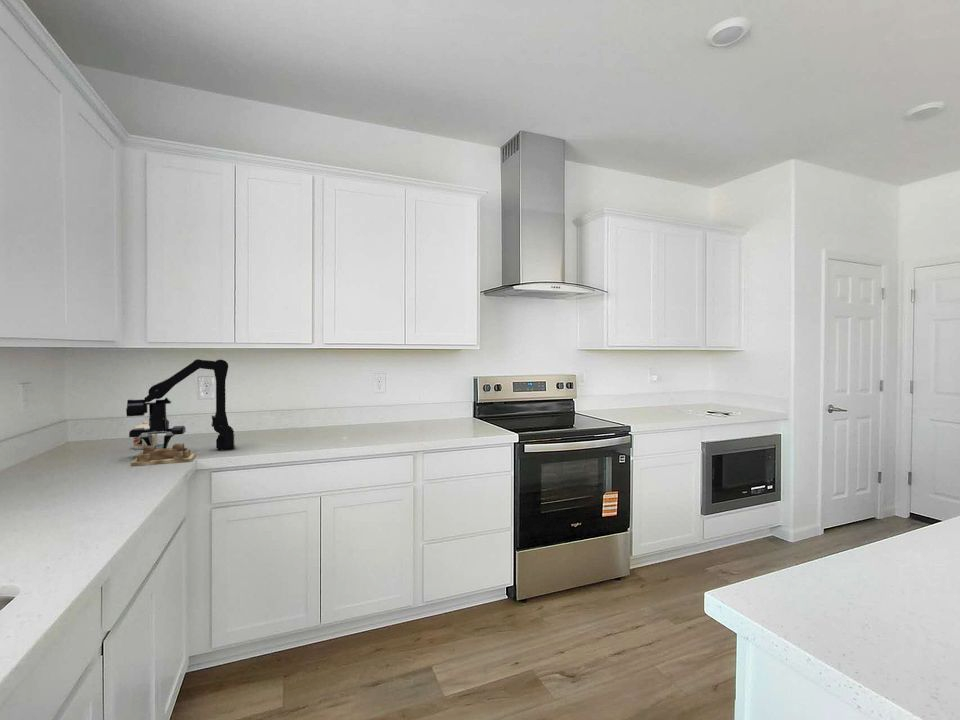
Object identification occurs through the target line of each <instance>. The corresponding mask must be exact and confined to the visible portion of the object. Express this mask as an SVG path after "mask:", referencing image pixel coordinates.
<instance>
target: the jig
mask: <svg viewBox="0 0 960 720" xmlns="http://www.w3.org/2000/svg"><path fill="white" fill-rule="evenodd" d="M196 455H197V454H196V453H191V448H188V447H184V456H183V451H179V452H174V458H173V459H160V460H150V454H143V451H141V452H140V453H138V454H137V455H136V458H135V459H134V460H132V461H131V462H130V463H129V464H130V467H138V466H139V467H140V466H149V465H150V466H152V465H165V464H174V463H175V464H176V463H188V462H191V463H192V461H194V459H195V458H196Z"/></svg>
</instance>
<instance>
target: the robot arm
mask: <svg viewBox="0 0 960 720" xmlns="http://www.w3.org/2000/svg"><path fill="white" fill-rule="evenodd" d="M200 369H202V370H212V371H213V373H214V377H215V414H214V415H211V427H213V430H214V431H215V432H216V433H217V434H218V435H217V438H216V439H215V443H216V451H228V450H234V449H235V447H236V445H235V431H234V428H232V427H231V426H230V425H229V422H228V417H227V412H226V380H227V376H228V371H229V370H228V369H229V363H228V362H227V361H226V360H224V359H222V358H221V359H219V358H218V359H216V360H209V359H207V360H205V359H200V358H197V359H194V360H193V361H192V362H191V363H189V364H188V365H186V366H185V367H183V368H182V369H180V370H179V371H177V372H176V373H175V374H173V375H171V376H170V377H169V378H166V379H164V380H162V381H159V382H157V383H155V384H153V385H152V386H150V388H149V389H148V392H147V393H148V394H147V395H146V396H144V398H143V399H128V400H127V401H126V402H127V403H126V409H125V411H126V412H125V413H126V414H125V415H126V417H128V418H129V417H143V416H145V414H147V413H149V415H148V416H149V418H148V423H149V426H150V428H149V430H145V429H144V428H134V427H133V428H134V429H133V428H132V429H130V430H129V432H128V437H129V438H133V437H139V436H140V435H141V437H140V439H144V441H145V442H146V444H147V445H148V446H151V445H153V442H152V435H150V434H157V435H158V434H165V435H164V436H163V444H164V448H168V445H169V443H170V440H171V438H172V437H174V436H175V435H176V436H177V435H184V434H185V433H186V426H184V425H174V426H173V427H171V428H170V421H169V420H168V419H167V418H168V417H167V405H169V404H171V403H172V401H171V400H170V399H168V397H165V395H167V394H168V392H170V390H172V389H173V388H174V387H175V386H176V385H177V384H179V383H181V382H182V381H183V380H185V379H187V378H188V377H189V376H191V375H192V374H193V373H195V372H196V371H199V370H200ZM163 397H165V398H164V399H162V398H163ZM153 400H155V402H154V401H153ZM152 401H153V402H152ZM148 409H149V410H148ZM148 411H149V412H148Z"/></svg>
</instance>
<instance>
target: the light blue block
mask: <svg viewBox="0 0 960 720" xmlns="http://www.w3.org/2000/svg"><path fill="white" fill-rule="evenodd" d="M162 448H164V443H162V444H161V443H157V444H156V449H162Z"/></svg>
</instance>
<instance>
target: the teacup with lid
mask: <svg viewBox="0 0 960 720" xmlns="http://www.w3.org/2000/svg"><path fill="white" fill-rule="evenodd" d="M134 428H144V429H145V430H149V428H150V426H149V421H148V420H147V421H145V420H144V421H142V423H141V424H139V425H137V426H133V428H132V429H134ZM150 435H152V442H153V445H156V444H158V434H150ZM140 437H141V435H140V436H139V437H132V438H133V449H134V450H143V448H144V447H145V446H148V445H147V444H146V442H145V441H144V439H140Z"/></svg>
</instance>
